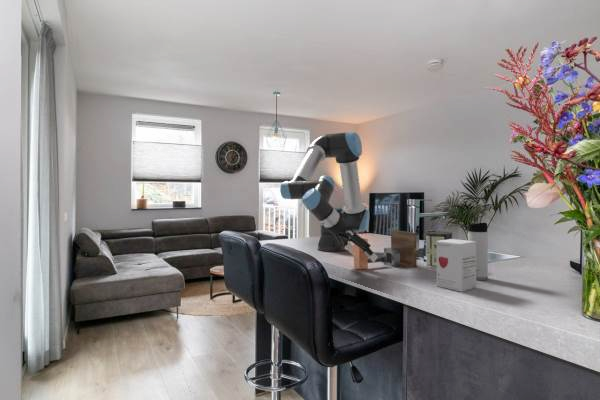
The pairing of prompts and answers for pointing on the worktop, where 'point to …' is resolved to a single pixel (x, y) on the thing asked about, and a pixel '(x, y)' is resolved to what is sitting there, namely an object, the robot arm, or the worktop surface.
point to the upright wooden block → (364, 258)
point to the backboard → (405, 247)
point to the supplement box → (456, 264)
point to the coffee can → (434, 246)
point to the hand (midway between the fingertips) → (365, 256)
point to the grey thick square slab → (392, 257)
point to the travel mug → (480, 248)
